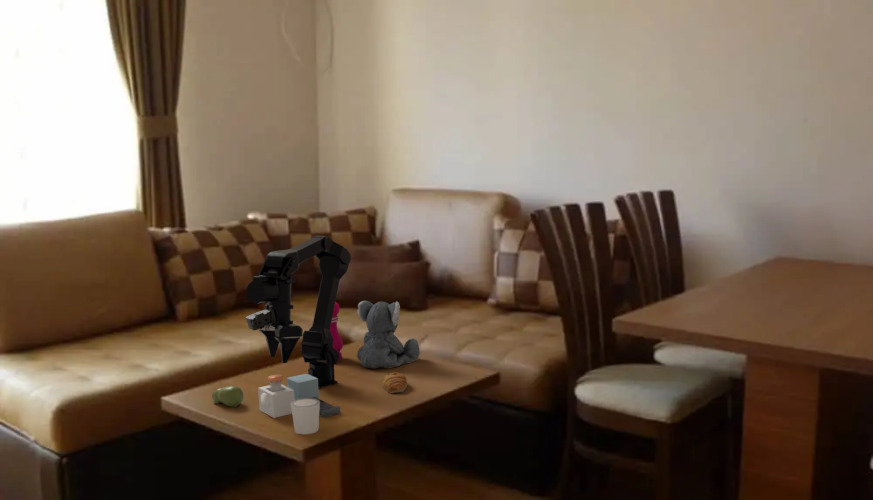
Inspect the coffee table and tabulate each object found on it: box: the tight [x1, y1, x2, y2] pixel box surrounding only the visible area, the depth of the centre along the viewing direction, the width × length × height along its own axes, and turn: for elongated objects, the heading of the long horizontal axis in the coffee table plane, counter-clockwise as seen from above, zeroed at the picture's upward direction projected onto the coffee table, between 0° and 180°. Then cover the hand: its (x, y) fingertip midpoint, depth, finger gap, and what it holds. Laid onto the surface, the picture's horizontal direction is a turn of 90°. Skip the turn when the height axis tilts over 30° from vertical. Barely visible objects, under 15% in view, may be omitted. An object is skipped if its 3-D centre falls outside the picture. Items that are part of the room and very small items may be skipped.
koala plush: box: [356, 300, 420, 370], centre depth 270 cm, size 17×18×20 cm
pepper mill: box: [330, 301, 344, 361], centre depth 275 cm, size 7×7×20 cm
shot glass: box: [291, 398, 320, 435], centre depth 215 cm, size 7×7×7 cm
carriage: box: [286, 373, 320, 400], centre depth 236 cm, size 6×6×6 cm
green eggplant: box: [211, 385, 245, 408], centre depth 236 cm, size 6×5×10 cm
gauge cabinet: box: [257, 383, 295, 419], centre depth 228 cm, size 6×8×6 cm
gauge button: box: [267, 374, 283, 392], centre depth 228 cm, size 4×4×6 cm
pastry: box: [381, 371, 408, 394], centre depth 245 cm, size 9×7×4 cm
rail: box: [312, 397, 341, 419], centre depth 233 cm, size 5×20×2 cm, turn 38°
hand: (278, 359), depth 233 cm, fingers open, 9 cm apart
